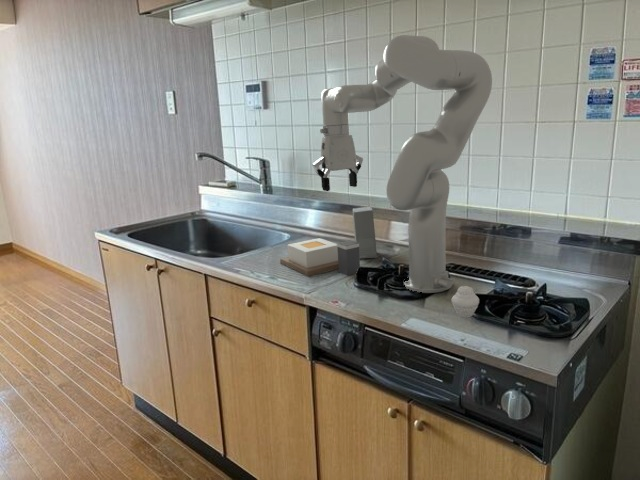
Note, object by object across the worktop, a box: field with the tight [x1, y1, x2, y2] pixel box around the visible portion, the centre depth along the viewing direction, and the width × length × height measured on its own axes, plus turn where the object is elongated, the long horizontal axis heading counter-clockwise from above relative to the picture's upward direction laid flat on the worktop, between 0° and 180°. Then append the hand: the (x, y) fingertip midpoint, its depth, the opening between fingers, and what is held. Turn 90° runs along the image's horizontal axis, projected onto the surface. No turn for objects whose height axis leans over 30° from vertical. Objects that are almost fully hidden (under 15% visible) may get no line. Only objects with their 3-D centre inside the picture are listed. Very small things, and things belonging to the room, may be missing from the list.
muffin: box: [450, 285, 480, 318], centre depth 116 cm, size 6×6×7 cm
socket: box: [279, 237, 339, 277], centre depth 161 cm, size 18×15×6 cm
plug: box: [336, 239, 361, 276], centre depth 151 cm, size 5×5×9 cm
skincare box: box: [352, 206, 378, 260], centre depth 166 cm, size 8×7×16 cm
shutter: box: [302, 242, 324, 248], centre depth 161 cm, size 6×6×1 cm
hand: (340, 188), depth 155 cm, fingers open, 9 cm apart
